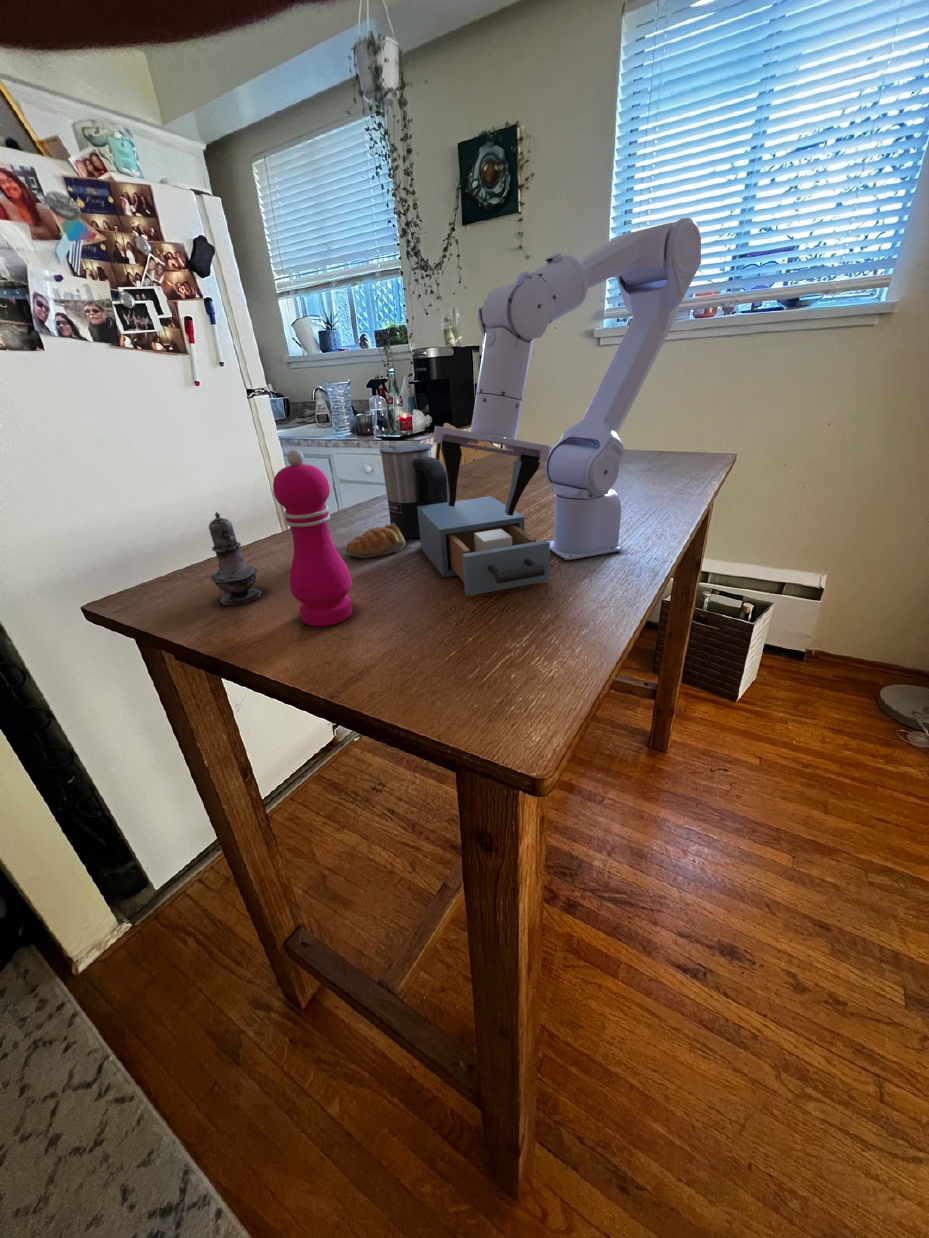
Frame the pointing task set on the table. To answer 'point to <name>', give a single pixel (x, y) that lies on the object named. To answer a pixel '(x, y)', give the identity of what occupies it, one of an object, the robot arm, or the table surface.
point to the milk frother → (412, 483)
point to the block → (491, 540)
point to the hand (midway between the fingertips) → (480, 510)
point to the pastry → (377, 542)
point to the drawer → (498, 561)
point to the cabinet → (459, 525)
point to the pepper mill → (312, 544)
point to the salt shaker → (231, 565)
